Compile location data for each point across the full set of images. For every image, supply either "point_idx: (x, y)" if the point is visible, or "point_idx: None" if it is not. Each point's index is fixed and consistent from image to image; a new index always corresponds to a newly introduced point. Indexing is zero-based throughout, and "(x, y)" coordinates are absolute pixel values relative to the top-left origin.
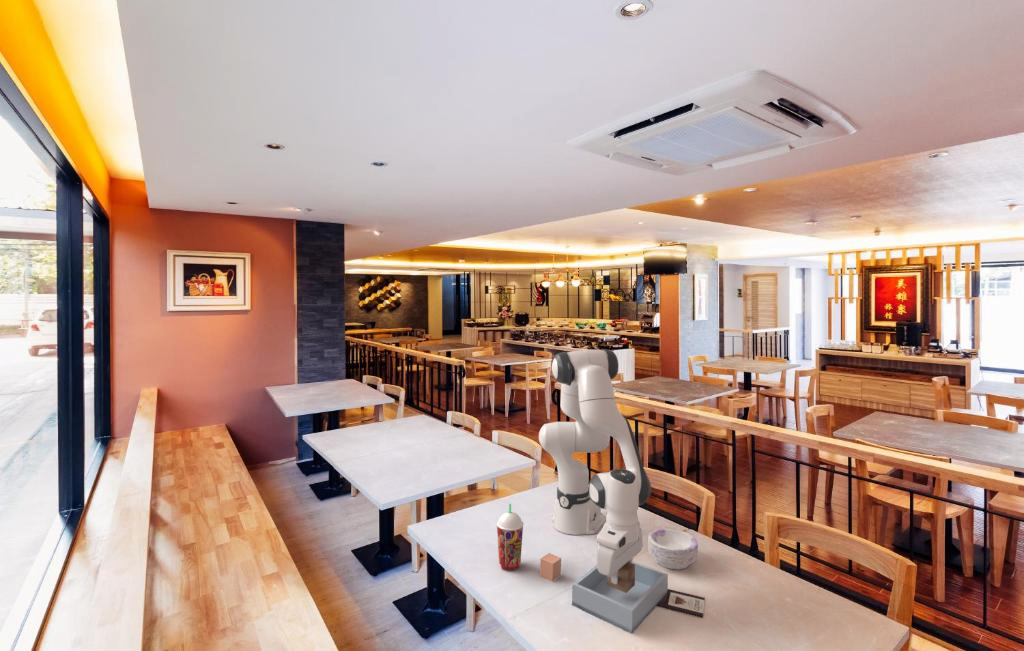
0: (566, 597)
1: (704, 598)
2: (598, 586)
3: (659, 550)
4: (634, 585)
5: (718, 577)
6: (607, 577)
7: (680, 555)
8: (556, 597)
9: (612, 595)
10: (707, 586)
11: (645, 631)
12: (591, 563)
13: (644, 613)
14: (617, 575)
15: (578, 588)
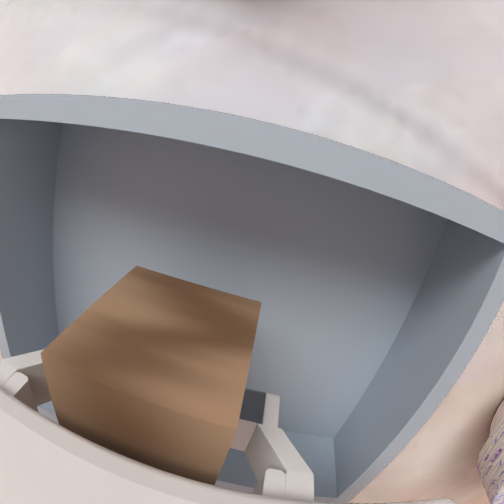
0: (105, 48)
1: None
2: (241, 166)
3: None
4: (343, 350)
5: (453, 484)
6: (109, 293)
7: (486, 486)
8: (90, 16)
9: (192, 267)
10: (411, 484)
11: None
12: (490, 75)
13: None
14: (51, 399)
15: None
